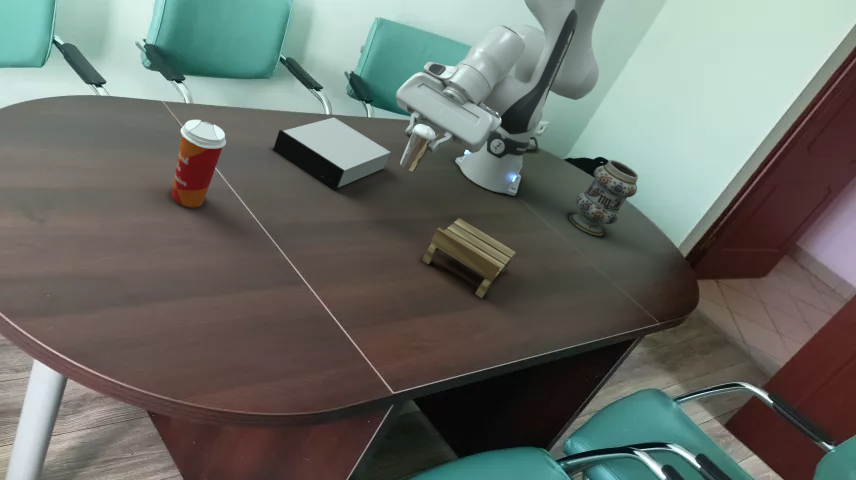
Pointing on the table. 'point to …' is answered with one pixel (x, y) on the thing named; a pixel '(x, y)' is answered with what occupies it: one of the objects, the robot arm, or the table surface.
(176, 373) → the table surface
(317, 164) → the disc drive
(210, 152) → the paper cup
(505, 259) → the brown wooden slatted bench
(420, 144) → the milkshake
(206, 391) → the table surface
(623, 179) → the apothecary jar
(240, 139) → the table surface
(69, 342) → the table surface
